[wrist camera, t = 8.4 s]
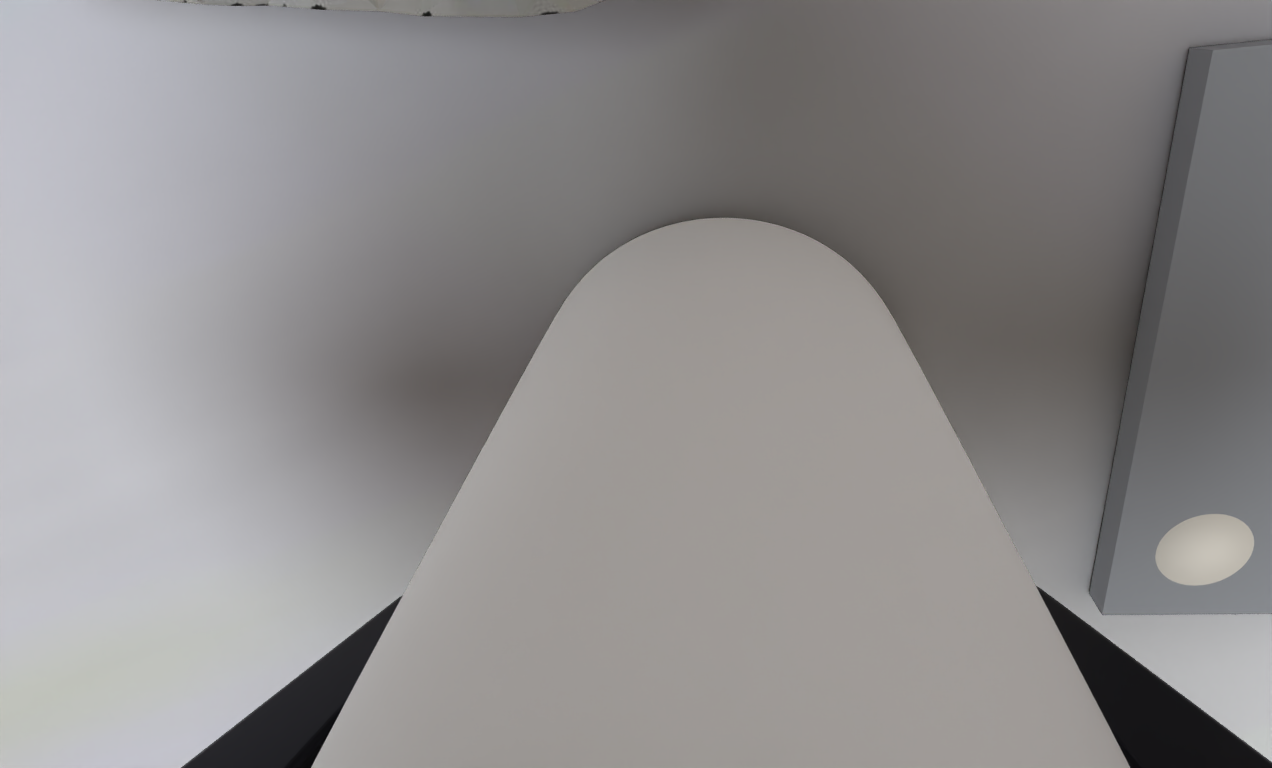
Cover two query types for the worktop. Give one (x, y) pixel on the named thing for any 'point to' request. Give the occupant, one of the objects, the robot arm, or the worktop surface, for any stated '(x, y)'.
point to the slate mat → (1201, 365)
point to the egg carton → (424, 6)
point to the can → (722, 548)
